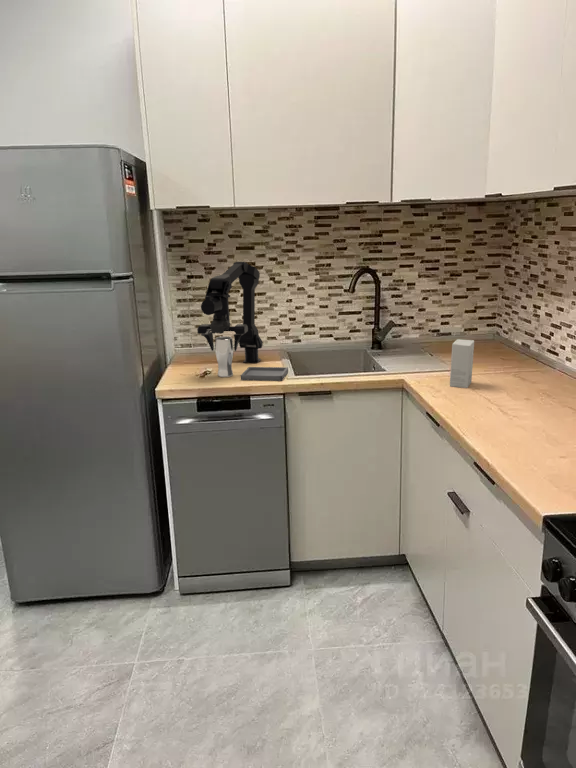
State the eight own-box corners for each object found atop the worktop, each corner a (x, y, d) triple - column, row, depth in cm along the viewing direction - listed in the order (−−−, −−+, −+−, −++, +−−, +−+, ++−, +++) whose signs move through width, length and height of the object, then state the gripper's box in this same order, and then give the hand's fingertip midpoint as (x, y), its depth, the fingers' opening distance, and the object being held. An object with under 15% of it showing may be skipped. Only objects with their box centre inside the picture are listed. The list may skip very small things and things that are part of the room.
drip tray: (249, 371, 237) (248, 366, 236) (288, 372, 234) (288, 367, 233) (240, 380, 224) (240, 375, 224) (282, 381, 221) (281, 375, 221)
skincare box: (454, 380, 215) (456, 338, 210) (473, 382, 212) (475, 340, 207) (449, 386, 207) (451, 343, 203) (468, 388, 204) (470, 344, 200)
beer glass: (231, 378, 228) (229, 340, 224) (214, 377, 229) (212, 339, 225) (236, 373, 234) (235, 336, 230) (219, 372, 236) (218, 335, 231)
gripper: (191, 314, 219) (194, 355, 223) (239, 314, 216) (241, 355, 220) (200, 309, 230) (203, 348, 234) (247, 309, 226) (249, 349, 230)
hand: (224, 350), depth 229 cm, fingers open, 9 cm apart
